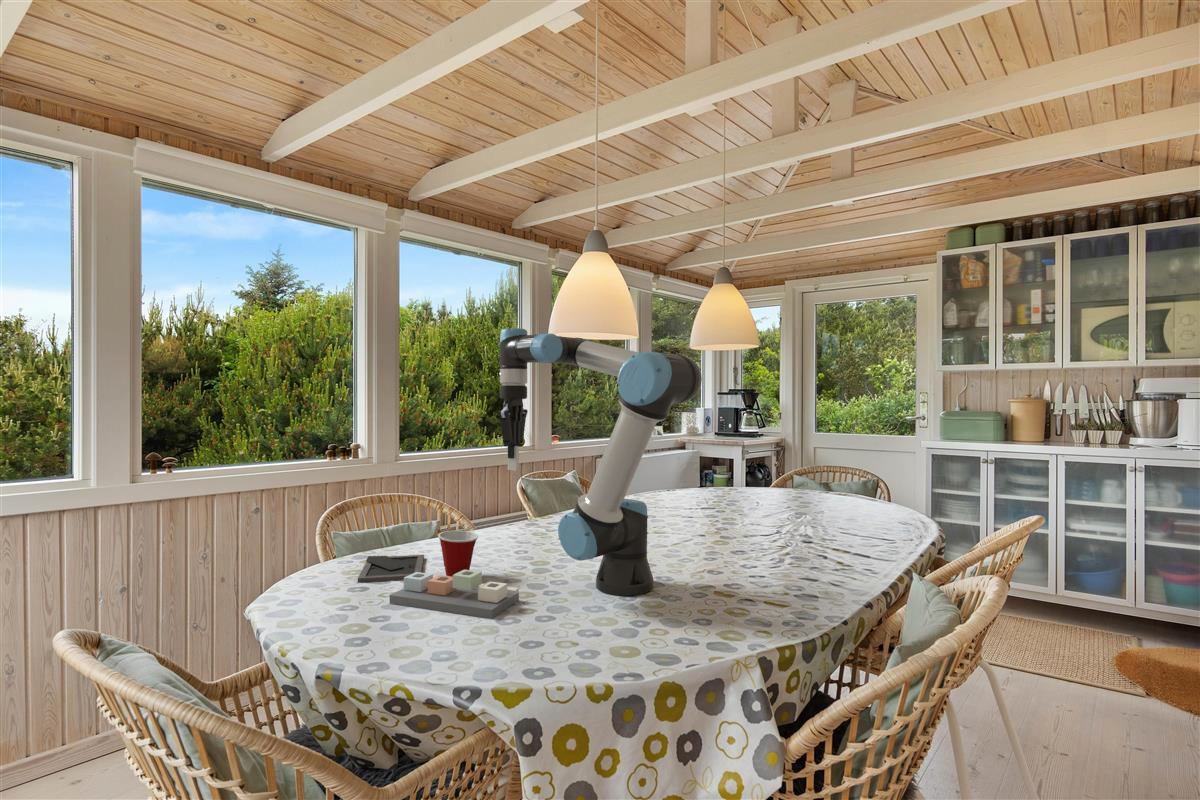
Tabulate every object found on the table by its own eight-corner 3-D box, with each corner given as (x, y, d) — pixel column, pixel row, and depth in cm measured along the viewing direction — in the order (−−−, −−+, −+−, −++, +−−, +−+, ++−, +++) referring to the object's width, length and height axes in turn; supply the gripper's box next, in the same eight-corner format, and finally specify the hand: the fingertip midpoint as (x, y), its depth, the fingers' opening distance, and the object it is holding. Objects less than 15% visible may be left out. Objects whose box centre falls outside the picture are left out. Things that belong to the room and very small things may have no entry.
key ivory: (507, 596, 148) (507, 583, 148) (496, 602, 143) (496, 589, 143) (488, 593, 149) (489, 580, 149) (478, 600, 145) (478, 586, 145)
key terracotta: (456, 589, 152) (457, 576, 152) (445, 595, 148) (445, 582, 148) (439, 586, 154) (439, 574, 154) (427, 593, 149) (427, 580, 149)
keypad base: (518, 600, 151) (518, 588, 151) (491, 618, 139) (492, 605, 139) (422, 587, 161) (422, 575, 161) (389, 603, 148) (389, 590, 148)
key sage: (481, 584, 150) (481, 571, 150) (470, 590, 145) (470, 576, 145) (464, 581, 152) (464, 568, 152) (452, 587, 147) (452, 574, 147)
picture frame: (368, 562, 185) (357, 584, 164) (368, 556, 185) (357, 576, 164) (424, 559, 188) (420, 580, 168) (424, 553, 188) (420, 573, 168)
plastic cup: (468, 585, 163) (468, 539, 163) (430, 582, 165) (430, 537, 165) (484, 573, 173) (484, 530, 173) (448, 570, 176) (448, 528, 175)
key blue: (432, 586, 155) (433, 573, 155) (420, 592, 150) (420, 579, 150) (416, 583, 157) (416, 571, 156) (403, 589, 152) (403, 577, 152)
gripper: (512, 384, 178) (512, 466, 178) (489, 384, 166) (489, 472, 166) (536, 385, 175) (535, 467, 176) (514, 384, 163) (514, 473, 163)
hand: (513, 469), depth 171 cm, fingers closed
